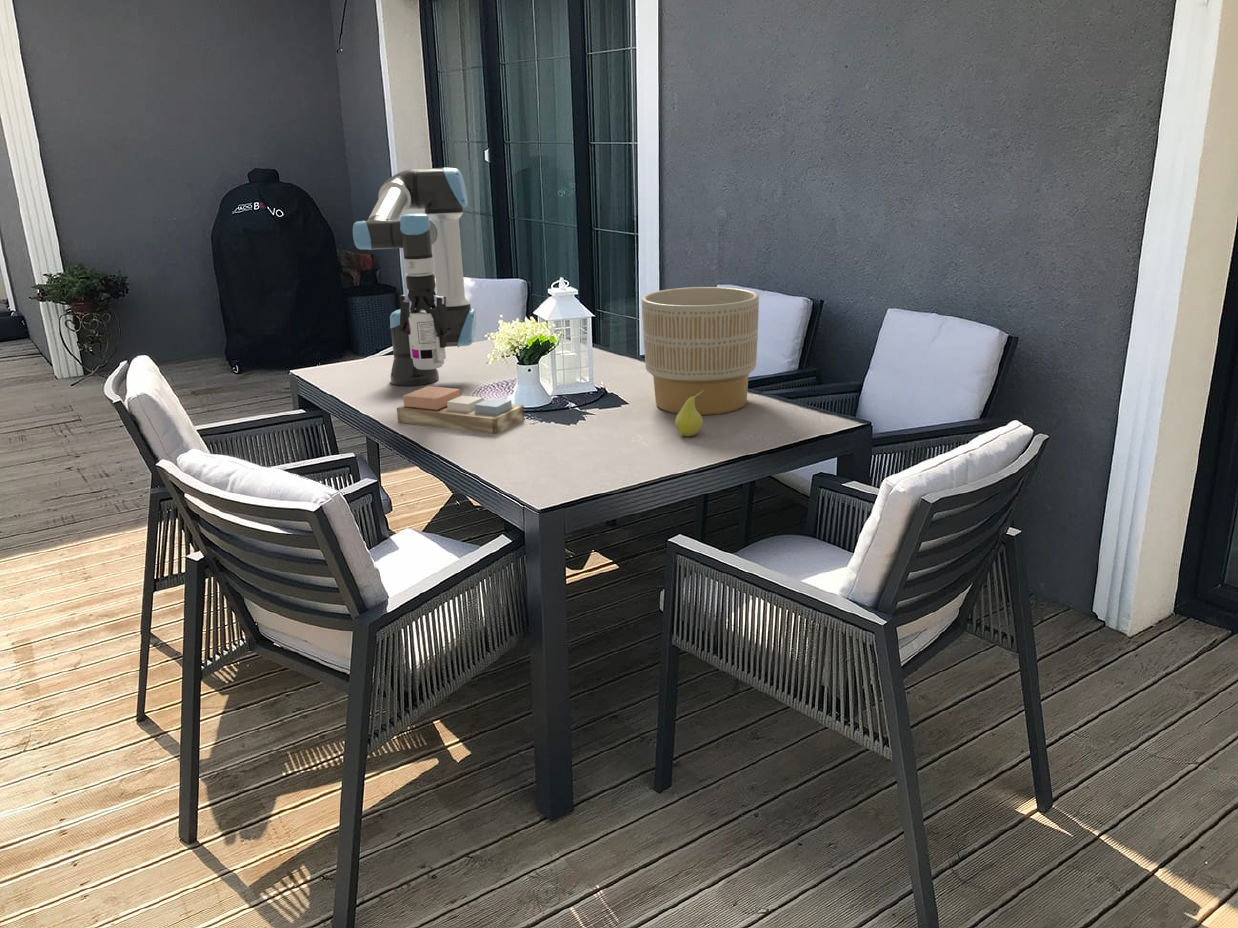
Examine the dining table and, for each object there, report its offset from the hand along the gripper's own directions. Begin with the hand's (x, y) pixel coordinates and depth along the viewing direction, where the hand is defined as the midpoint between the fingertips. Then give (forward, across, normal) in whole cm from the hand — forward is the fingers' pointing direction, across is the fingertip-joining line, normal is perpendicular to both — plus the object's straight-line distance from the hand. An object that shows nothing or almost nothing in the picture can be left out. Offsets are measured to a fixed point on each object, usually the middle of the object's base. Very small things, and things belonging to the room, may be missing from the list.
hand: (428, 358), depth 270 cm
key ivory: (+15, +11, 0) cm, 19 cm away
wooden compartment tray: (+17, +9, 0) cm, 19 cm away
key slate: (+15, +20, 0) cm, 25 cm away
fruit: (+17, +73, +9) cm, 75 cm away
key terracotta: (+14, 0, 0) cm, 14 cm away
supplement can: (+2, 0, 0) cm, 2 cm away
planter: (+17, +64, +38) cm, 76 cm away
